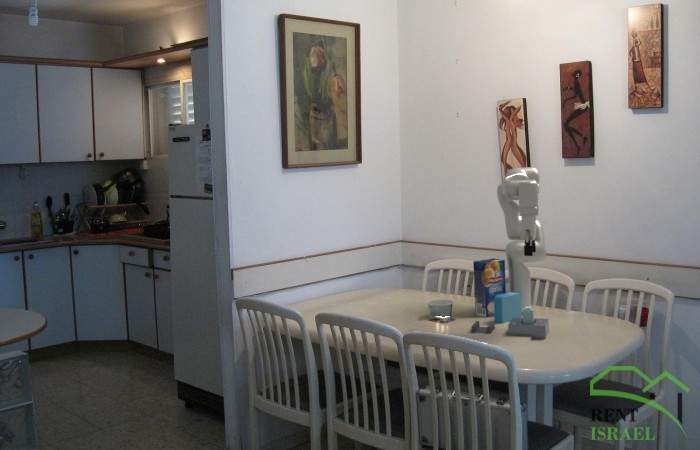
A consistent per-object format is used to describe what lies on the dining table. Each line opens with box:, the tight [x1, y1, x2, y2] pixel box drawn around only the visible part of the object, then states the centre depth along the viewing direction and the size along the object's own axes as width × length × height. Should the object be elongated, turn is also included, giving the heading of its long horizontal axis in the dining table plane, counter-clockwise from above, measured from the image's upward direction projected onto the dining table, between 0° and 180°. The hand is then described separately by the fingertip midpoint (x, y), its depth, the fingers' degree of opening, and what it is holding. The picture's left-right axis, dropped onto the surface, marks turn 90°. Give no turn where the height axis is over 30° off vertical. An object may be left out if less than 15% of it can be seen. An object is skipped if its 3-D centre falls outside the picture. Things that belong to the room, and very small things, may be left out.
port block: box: [507, 317, 550, 340], centre depth 287 cm, size 12×14×6 cm
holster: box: [470, 320, 496, 334], centre depth 293 cm, size 10×8×4 cm
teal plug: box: [522, 306, 535, 323], centre depth 287 cm, size 4×4×11 cm
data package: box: [494, 291, 523, 324], centre depth 308 cm, size 12×4×12 cm, turn 126°
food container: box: [426, 299, 455, 319], centre depth 326 cm, size 12×12×6 cm
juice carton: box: [473, 258, 507, 318], centre depth 325 cm, size 12×8×24 cm, turn 122°
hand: (530, 254), depth 294 cm, fingers open, 9 cm apart
